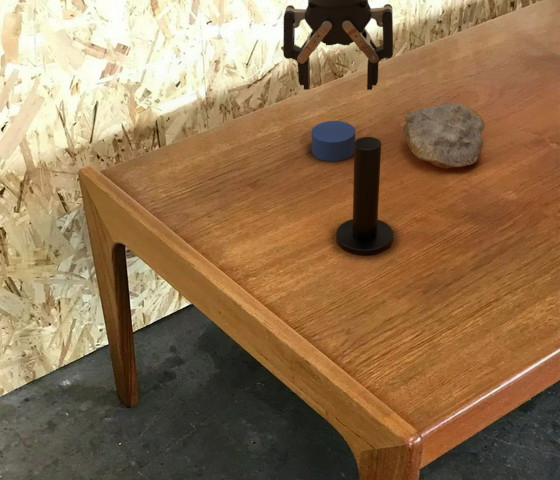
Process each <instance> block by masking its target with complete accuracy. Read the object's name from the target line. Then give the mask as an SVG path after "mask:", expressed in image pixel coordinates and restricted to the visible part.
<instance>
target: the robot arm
mask: <svg viewBox="0 0 560 480" xmlns="http://www.w3.org/2000/svg"><path fill="white" fill-rule="evenodd" d="M393 14H394V13H393V6H392V5H391V4H390V3H386V4H384V5H383V7H372V8H371V6H370V4H369V0H307V6H306V9H305V8H295V7H294V5H292V4H289V5H287V6H286V8H285V10H284V13H283V38H282V39H283V41H282V42H283V49H282V50H283V51H282V52H283V58H284V59H287V60H290V59H291V60H294V61H296V63H297V76H298V77H297V78H298V79H297V80H298V84H299V86H303V90H306V91H307V90H308V91H309V90H310V88H311V67H310V66H311V63H310V57H311V55H312V54H313V53H314V52H315V51H316V49H317V48H318V46H319V45H320V44H321V43H322V44H325V46H334V45H341V46H350V45H351V44H353V43H354V44H355V45H356V47H357V48H358V49H359V51H361V52H362V53H363V54H364V55H365V56H366V59H367V70H366V71H367V72H366V73H367V76H366V80H367V81H366V90H367V91H373V86H377V84H378V82H379V63H380V61H382V60H384V59H391V58H392V57H393V55H394V21H393V20H394V19H393V18H394V17H393V16H394V15H393ZM371 19H373V20H374V21H375V24H376V25H377V27H379V28H382V44H381V45H378V46H377V44H376V43H375V41H374V40H373V39H372V37H371V35H370V33H369V32H368V30H367V29H366V27H367V26H368V25H369V23H370V22H371ZM302 21H305V23H306V24H307V26H308V27H309V28H310V29H311V32H310V33H309V34H308V36H307V38H306V39H305V41H304V42H303V44H302V45H301V47H300V46H298V45H295V44H296V43H295V40H296V39H295V38H296V37H295V35H296V33H295V32H296V29H297V28H299V27H300V24H301V22H302Z"/></svg>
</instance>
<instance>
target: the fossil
mask: <svg viewBox="0 0 560 480" xmlns="http://www.w3.org/2000/svg"><path fill="white" fill-rule="evenodd" d="M404 119H405V122H406V123H405V124H404V125H403V127H402V136H403V139H404V141H405V143H406V144H407V146H408V148H409V149H410V150H411V152H412V154H413V155H414V156H415V157H416V158H417V159H418V160H421V161H424V162H429V163H431V164H432V165H433V166H435V167H438V168H441V169H450V168H462V167H466V166H470V165H473V164H474V163H476V162H477V160H478V158H479V156H480V155H481V154H480V153H481V150H482V148H483V138H482V133H483V132H484V130H485V122H484V120H483V118H482V116H481V114H480V113H479V112H478V111H476V110H475V109H472V108H471V107H469V105H467V104H466V105H465V104H462V103H452V102H445V103H442V104H439V105H435V106H430V107H422V108H419V109H416V110H415V111H413V112H412V111H407V112H406V116H405V117H404Z"/></svg>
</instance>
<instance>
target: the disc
mask: <svg viewBox="0 0 560 480" xmlns="http://www.w3.org/2000/svg"><path fill="white" fill-rule="evenodd" d="M310 135H311V153H312V155H313V156H314V157H315V158H317V159H319V160H321V161H325V162H341V161H344V160H347V159H350V158H351V157H352V156H354V144H355V141H356V129H355V127H354V125H352V124H350V123H349V122H347V121H341V120H328V121H327V120H326V121H322V122H320V123H318V124H316V125H314V127H312V129H311V131H310Z"/></svg>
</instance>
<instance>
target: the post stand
mask: <svg viewBox="0 0 560 480" xmlns="http://www.w3.org/2000/svg"><path fill="white" fill-rule="evenodd" d="M381 155H382V141H381V140H380V139H379V138H376V137H373V136H363V137H359V138H358V139H355V144H354V154H353V190H352V191H353V193H352V219H348V220H346V221H345V222H342V223H341V224H340V225H339V226H338V227H337V230H336V232H335V233H336V234H335V239H336V243H337V245H338V246H339V247H340V249H342V250H343V251H344V252H346V253H347V252H348V253H349V254H353V255H357V256H372V255H373V256H374V255H376V254H380V253H383V252H384V251H386V250H388V249H389V248H390V247H391V246H392V243H393V241H394V232H393V229H392V227H391V226H390V225H389V224H388V223H387V222H385V221H383V220H381V219H379V218H378V217H379V216H378V215H379V199H380V198H379V197H380V178H381V177H380V176H381V159H382V158H381Z"/></svg>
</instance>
